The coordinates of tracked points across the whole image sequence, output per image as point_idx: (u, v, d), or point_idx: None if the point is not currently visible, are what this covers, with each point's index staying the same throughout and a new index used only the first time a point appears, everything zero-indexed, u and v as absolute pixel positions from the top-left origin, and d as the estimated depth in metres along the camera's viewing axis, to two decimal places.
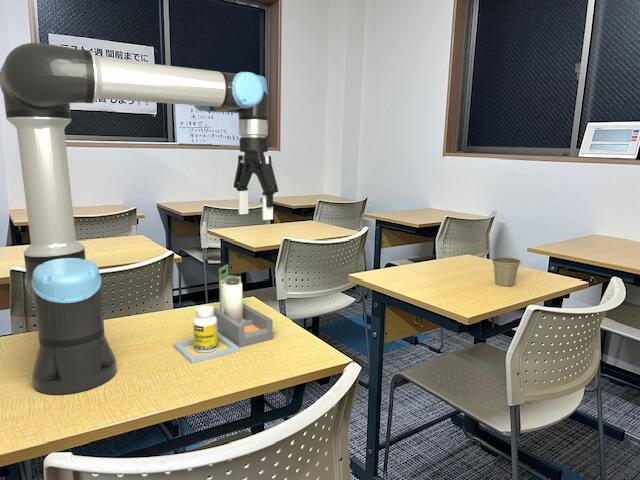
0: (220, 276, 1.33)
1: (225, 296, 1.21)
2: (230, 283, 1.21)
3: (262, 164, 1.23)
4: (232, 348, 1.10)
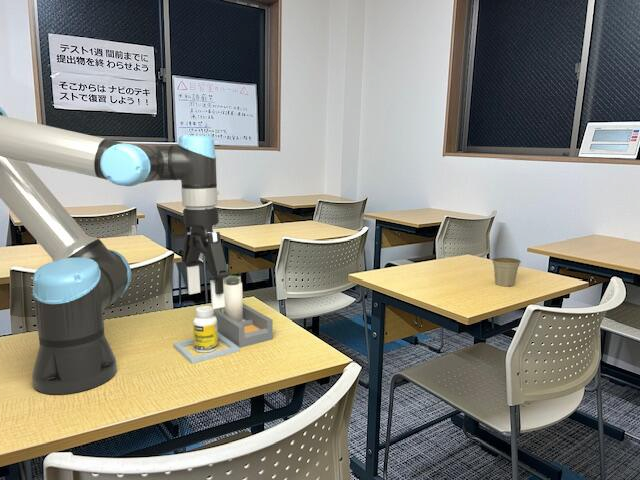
0: None
1: (225, 296, 1.21)
2: (230, 283, 1.21)
3: (209, 243, 1.01)
4: (232, 348, 1.10)
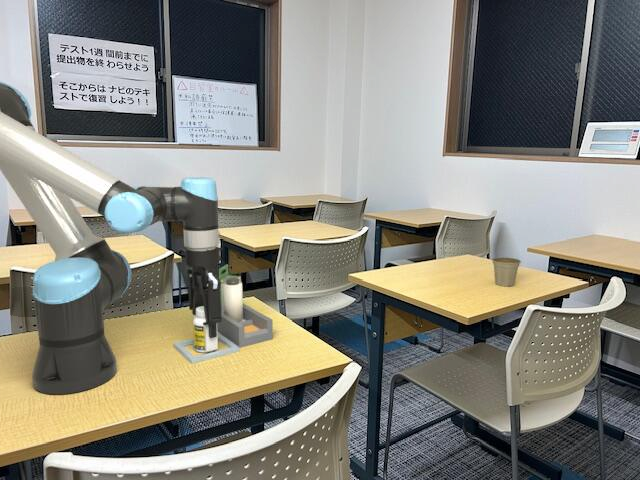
0: (220, 276, 1.33)
1: (225, 296, 1.21)
2: (230, 283, 1.21)
3: (208, 290, 1.04)
4: (232, 348, 1.10)
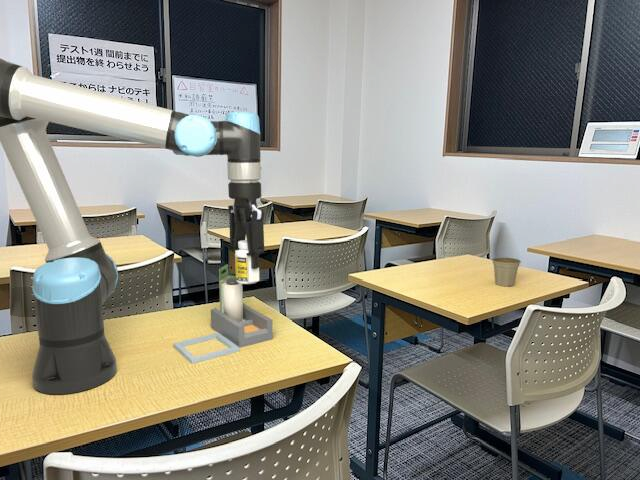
0: (220, 276, 1.33)
1: (225, 296, 1.21)
2: (230, 282, 1.21)
3: (252, 220, 1.07)
4: (232, 348, 1.10)
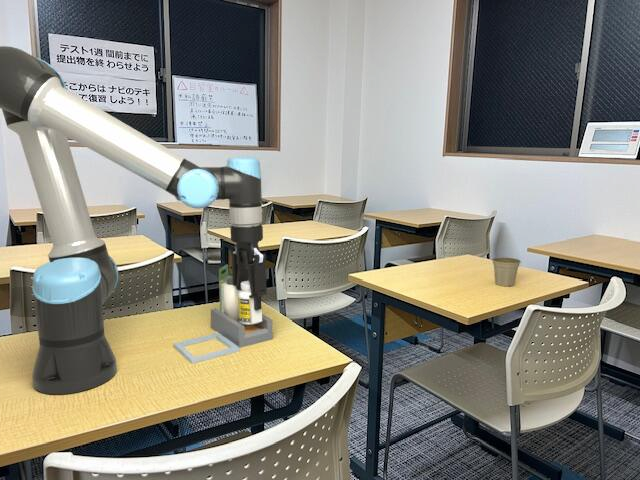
0: (220, 276, 1.33)
1: (225, 296, 1.21)
2: (230, 282, 1.21)
3: (255, 263, 1.09)
4: (232, 348, 1.10)
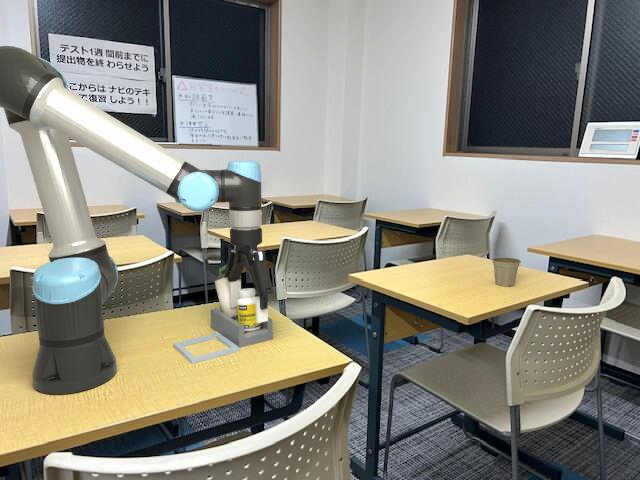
0: None
1: (218, 291, 1.24)
2: (220, 277, 1.25)
3: (255, 262, 1.08)
4: (232, 348, 1.10)
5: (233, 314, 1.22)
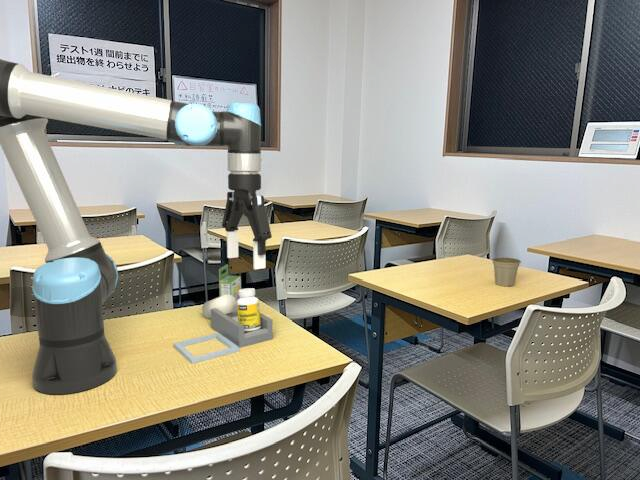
0: (220, 276, 1.33)
1: (207, 310, 1.29)
2: None
3: (253, 206, 1.06)
4: (232, 348, 1.10)
5: (221, 297, 1.25)
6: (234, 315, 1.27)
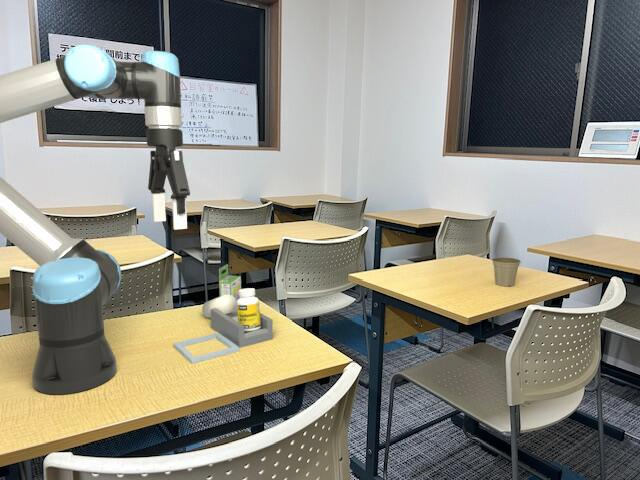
0: (220, 276, 1.33)
1: (207, 310, 1.29)
2: None
3: (170, 161, 1.00)
4: (232, 348, 1.10)
5: (221, 297, 1.25)
6: (234, 315, 1.27)
